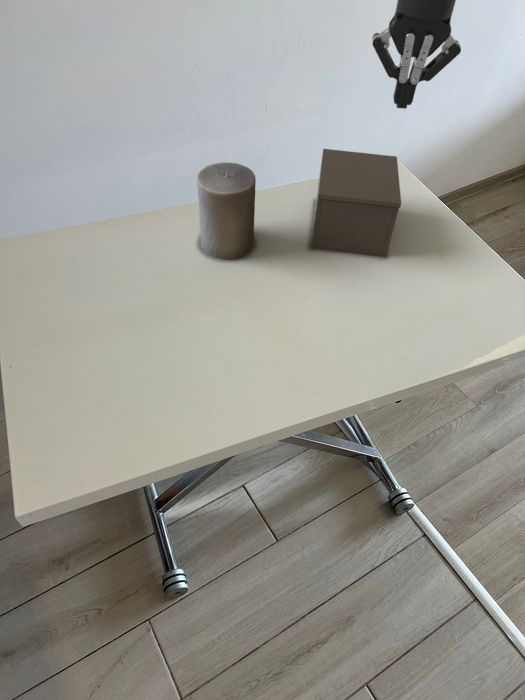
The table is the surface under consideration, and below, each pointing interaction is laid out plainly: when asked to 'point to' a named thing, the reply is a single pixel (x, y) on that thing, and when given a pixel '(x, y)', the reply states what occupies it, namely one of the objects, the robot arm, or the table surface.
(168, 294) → the table surface
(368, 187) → the brown box lid
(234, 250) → the pillar candle
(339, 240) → the brown hinged box
